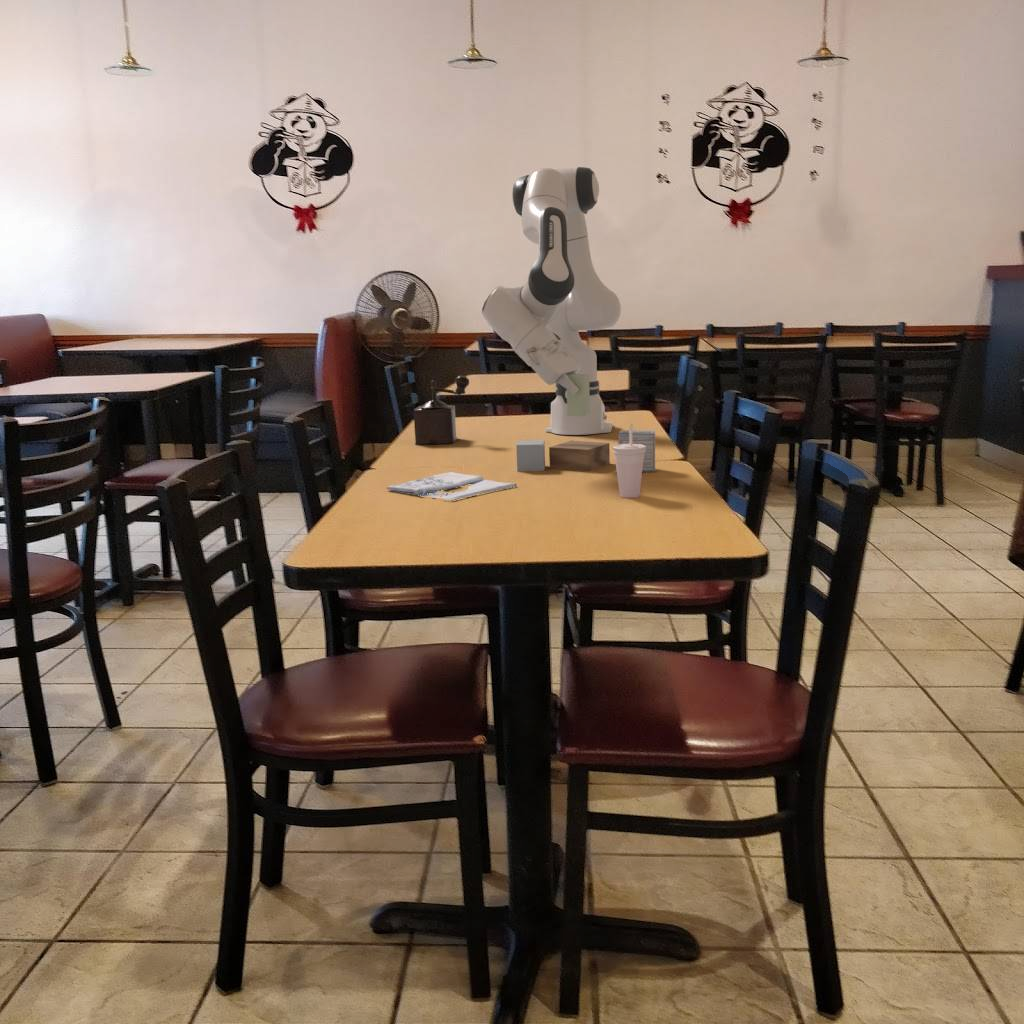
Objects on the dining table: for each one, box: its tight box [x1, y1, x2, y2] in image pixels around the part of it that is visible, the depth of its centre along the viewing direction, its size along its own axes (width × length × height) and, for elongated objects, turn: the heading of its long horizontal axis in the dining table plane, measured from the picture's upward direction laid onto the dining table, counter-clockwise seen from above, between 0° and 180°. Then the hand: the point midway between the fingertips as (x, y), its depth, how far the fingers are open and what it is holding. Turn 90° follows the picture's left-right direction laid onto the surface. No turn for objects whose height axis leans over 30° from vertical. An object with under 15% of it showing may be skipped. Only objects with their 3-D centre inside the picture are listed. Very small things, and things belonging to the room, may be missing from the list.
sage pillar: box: [567, 374, 590, 416], centre depth 214 cm, size 4×4×9 cm
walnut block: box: [548, 440, 611, 472], centre depth 217 cm, size 10×10×5 cm
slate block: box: [516, 439, 546, 472], centre depth 215 cm, size 6×6×6 cm
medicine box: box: [618, 429, 656, 473], centre depth 208 cm, size 8×4×9 cm, turn 84°
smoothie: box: [612, 423, 646, 499], centre depth 182 cm, size 6×6×14 cm
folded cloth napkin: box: [386, 471, 517, 501], centre depth 196 cm, size 19×20×2 cm
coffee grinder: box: [413, 375, 470, 446], centre depth 258 cm, size 16×11×18 cm
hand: (581, 390), depth 213 cm, fingers closed on sage pillar, 4 cm apart
